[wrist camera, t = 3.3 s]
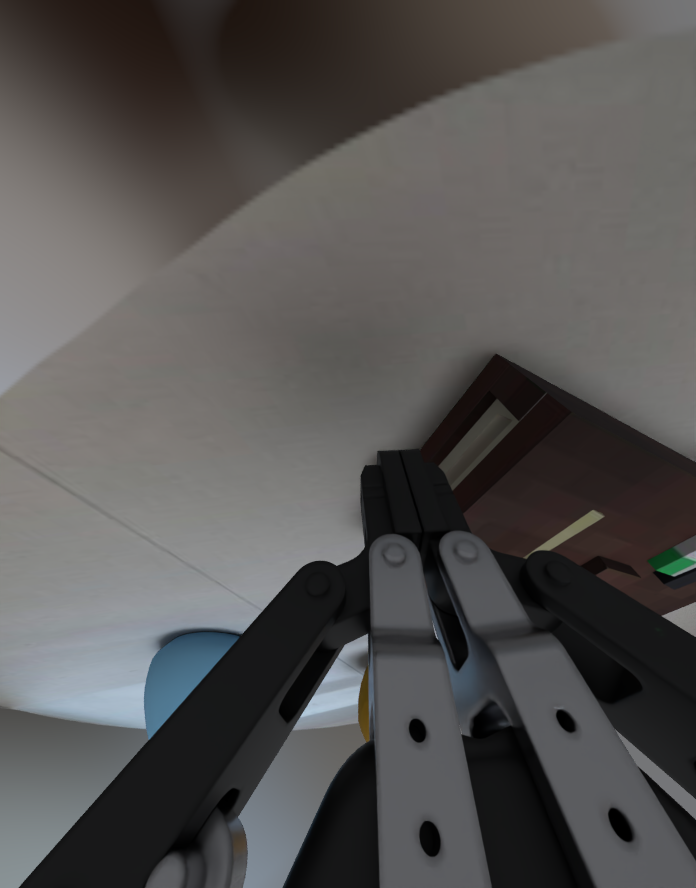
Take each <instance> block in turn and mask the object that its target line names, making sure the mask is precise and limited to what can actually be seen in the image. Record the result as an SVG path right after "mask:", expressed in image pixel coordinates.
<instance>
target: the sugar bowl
mask: <svg viewBox="0 0 696 888" xmlns="http://www.w3.org/2000/svg"><path fill="white" fill-rule="evenodd" d="M239 637H240V636H237V635H233V634H227V633H219V632H197V633H190V634H185V635H182V636H179V637H177V638H175V639H174V640H172V641H171V642H169V643H168V644H167V645H166V646H164V647H163V648H162V649H161V650H160V651H158V652H157V654H156V655H155V656H154V658H153V659H152V662H151V664H150V667H149V671H148V675H147V679H146V684H145V692H144V710H145V720H146V729H147V734H148V739H150V738H151V737H152V736H153V735H154V734H155V733H156V731H157V730H158V729H159V728H160V727H161V726H162V725H163V723H164V722H165V721H166V720H167V719H168V718H169V717H170V716H171V714H172V713H173V712H174V711H175V710H176V709H177V708H178V706H179V705H180V704H181V703H182V702H183V701H184V700H185V699H186V697H187V696H188V695H189V694H190V693H191V692H192V691H193V689H194V688H195V687H196V686H197V685H198V684H199V683H200V682H201V680H202V679H203V678H204V677H205V676H206V675H207V674H208V672H209V671H210V670H211V669H212V668H213V667H214V666H215V665H216V663H217V662H218V661H219V660H220V659H221V658H222V657H223V655H224V654H225V653H226V652H227V651H228V650H229V649H230V648H231V646H232V645H233V644H234V643H235V642H236V641H237V640H238V639H239Z"/></svg>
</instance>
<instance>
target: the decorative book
mask: <svg viewBox="0 0 696 888" xmlns="http://www.w3.org/2000/svg"><path fill="white" fill-rule="evenodd" d="M420 452H421V455H422V458H423V460H424V463H428V462H434V463H435V464H436V465H437V466H438V467H439V468H440V469H441V470H443V471H444V473H445V475H446V478H447V480H448V482H449V485H450V486H451V489H452V491H453V494H454V495H455V497H456V500H457V502H458V504H459V506H460V508H461V511H462V513H463V515H464V517H465V519H466V522H467V524H468V526H469V528H470V530H471V532H472V534H474V535H476V536H477V537H479V538H480V539H481V540H483V541H484V542H485V543H486V545H487V546H488V547H489V548H490V549H492V550H495V551H497V552H501V553H504V554H509V555H513V556H517V557H521V558H525V559H527V558H528V556H529V555H530V554H531V553H533V552H535V551H538V550H548V551H553V552H556V553H558V554H561V555H563V556H565V557H566V558H568V559H570V560H571V561H573V562H575V563H576V564H578V565H579V566H581V567H583V568H584V569H586V570H588V571H589V572H591V573H592V574H594V575H596V576H597V577H599V578H601V579H602V580H604V581H605V582H607V583H609V584H610V585H612V586H613V587H615V588H617V589H618V590H620V591H622V592H623V593H625V594H626V595H628V596H630V597H631V598H633V599H635V600H636V601H638V602H639V603H641V604H643V605H644V606H646V607H647V608H649V609H651V610H652V611H654V612H656V613H657V614H659V615H660V616H662V615H665V614H667V613H669V612H672V611H674V610H677V609H679V608H682V607H684V606H687V605H689V604H692V603H694V602H696V463H695V462H693V461H692V460H690V459H688V458H686V457H684V456H683V455H681V454H679V453H677V452H675V451H673V450H672V449H670V448H668V447H666V446H664V445H662V444H661V443H659V442H657V441H655V440H653V439H651V438H650V437H648V436H646V435H644V434H642V433H641V432H639V431H637V430H635V429H633V428H631V427H630V426H628V425H626V424H624V423H622V422H620V421H619V420H617V419H615V418H613V417H611V416H609V415H608V414H606V413H604V412H602V411H600V410H599V409H597V408H595V407H593V406H591V405H589V404H588V403H586V402H584V401H582V400H580V399H578V398H577V397H575V396H573V395H571V394H569V393H568V392H566V391H564V390H562V389H560V388H558V387H557V386H555V385H553V384H551V383H549V382H547V381H546V380H544V379H542V378H540V377H538V376H536V375H535V374H533V373H531V372H529V371H527V370H526V369H524V368H522V367H520V366H518V365H516V364H515V363H513V362H511V361H509V360H507V359H505V358H504V357H502V356H500V355H498V354H495V356H494V357H493V358H492V359H491V361H490V362H489V363H488V365H487V366H486V367H485V368H484V370H483V371H482V372H481V373H480V375H479V376H478V377H477V379H476V380H475V381H474V382H473V384H472V385H471V386H470V387H469V389H468V390H467V391H466V393H465V394H464V395H463V396H462V398H461V399H460V400H459V401H458V403H457V404H456V405H455V407H454V408H453V409H452V410H451V412H450V413H449V414H448V416H447V417H446V418H445V419H444V421H443V422H442V423H441V424H440V426H439V427H438V428H437V430H436V431H435V432H434V433H433V435H432V436H431V437H430V438H429V440H428V441H427V442H426V444H425V445H424V446H423V447H422V449H421V450H420ZM424 579H425V577H424ZM425 585H426V581H425ZM426 589H427V585H426Z"/></svg>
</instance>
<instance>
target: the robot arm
mask: <svg viewBox="0 0 696 888" xmlns="http://www.w3.org/2000/svg"><path fill="white" fill-rule="evenodd" d="M361 513H362V523H363V533H364V543H365V548H364V550H363V551H362V552H361V553H360V554H359V555H358V556H357V557H356V558H354V559H352V560H350V561H348V562H345V563H343V564H340V565H338V566H336V565H334V564H332V563H330V562H327V561H314V562H311V563H308V564H306V565H305V566H303V567H302V568H301V569H300V570H299V571H298V572H297V573H296V574H295V575H294V576H293V577H292V578H291V580H290V581H289V582H288V583H287V584H286V585H285V586H284V588H283V589H282V590H281V591H280V592H279V593H278V594H277V595H276V597H275V598H274V599H273V600H272V601H271V602H270V603H269V605H268V606H267V607H266V608H265V609H264V610H263V611H262V612H261V614H260V615H259V616H258V617H257V618H256V619H255V620H254V622H253V623H252V624H251V625H250V626H249V627H248V628H247V629H246V631H245V632H244V633H243V634H242V635H241V636H240V637H239V639H238V640H237V641H236V642H235V643H234V644H233V645H232V646H231V648H230V649H229V650H228V651H227V652H226V653H225V654H224V655H223V657H222V658H221V659H220V660H219V661H218V662H217V663H216V665H215V666H214V667H213V668H212V669H211V670H210V671H209V672H208V674H207V675H206V676H205V677H204V678H203V679H202V680H201V682H200V683H199V684H198V685H197V686H196V687H195V688H194V689H193V691H192V692H191V693H190V694H189V695H188V696H187V697H186V699H185V700H184V701H183V702H182V703H181V704H180V705H179V706H178V708H177V709H176V710H175V711H174V712H173V713H172V714H171V716H170V717H169V718H168V719H167V720H166V721H165V722H164V723H163V725H162V726H161V727H160V728H159V729H158V730H157V731H156V733H155V734H154V735H153V736H152V737H151V738H150V739H149V741H148V742H147V743H146V744H145V745H144V746H143V747H142V748H141V749H140V751H139V752H138V753H137V754H136V755H135V756H134V757H133V759H132V760H131V761H130V762H129V763H128V764H127V765H126V766H125V768H124V769H123V770H122V771H121V772H120V773H119V774H118V776H117V777H116V778H115V779H114V780H113V781H112V782H111V784H110V785H109V786H108V787H107V788H106V789H105V790H104V791H103V793H102V794H101V795H100V796H99V797H98V798H97V800H95V802H94V803H93V804H92V805H91V806H90V807H89V808H88V810H87V811H86V812H85V813H84V814H83V815H82V816H81V817H80V819H79V820H78V821H77V822H76V823H75V825H73V826H72V828H71V829H70V830H69V831H68V832H67V833H66V834H65V836H64V837H63V838H62V839H61V840H60V841H59V842H58V843H57V845H56V846H55V847H54V848H53V849H52V850H51V851H50V853H49V854H48V855H47V856H46V857H45V858H44V859H43V860H42V862H41V863H40V864H39V865H38V866H37V867H36V868H35V870H34V871H33V872H32V873H31V874H30V875H29V876H28V878H27V879H26V880H25V881H24V882H23V883H22V884H21V886H20V887H19V888H243V884H244V879H245V875H246V868H247V854H248V851H247V840H246V834H245V831H244V828H243V825H242V823H241V821H240V820H239V818H238V816H239V815H240V813H241V811H242V810H243V808H244V806H245V805H246V803H247V802H248V800H249V798H250V797H251V795H252V794H253V792H254V790H255V789H256V787H257V786H258V784H259V782H260V781H261V779H262V777H263V776H264V774H265V773H266V771H267V769H268V768H269V766H270V765H271V763H272V761H273V760H274V758H275V756H276V755H277V753H278V752H279V750H280V748H281V747H282V745H283V744H284V742H285V740H286V739H287V737H288V736H289V734H290V732H291V731H292V729H293V728H294V726H295V724H296V723H297V721H298V719H299V718H300V716H301V715H302V713H303V711H304V710H305V708H306V707H307V705H308V703H309V702H310V700H311V699H312V697H313V695H314V694H315V692H316V690H317V689H318V687H319V686H320V684H321V682H322V681H323V679H324V678H325V676H326V674H327V673H328V671H329V669H330V668H331V666H332V665H333V663H334V661H335V660H336V658H337V657H338V655H339V653H340V652H341V650H342V649H343V647H344V645H345V644H347V643H349V642H351V641H353V640H355V639H357V638H360V637H362V636H364V635H366V634H368V667H369V741H368V742H367V743H365V744H364V745H362V746H361V747H360V748H358V749H357V750H356V751H355V752H354V753H353V754H352V755H351V756H350V757H349V758H348V759H347V760H346V762H345V763H344V764H343V765H342V767H341V768H340V769H339V771H338V772H337V774H336V776H335V777H334V779H333V781H332V782H331V784H330V786H329V788H328V790H327V792H326V794H325V796H324V798H323V800H322V802H321V805H320V807H319V809H318V811H317V813H316V816H315V818H314V820H313V823H312V824H311V827H310V829H309V831H308V833H307V835H306V838H305V840H304V842H303V844H302V846H301V848H300V851H299V853H298V855H297V857H296V859H295V862H294V864H293V866H292V868H291V871H290V872H289V875H288V877H287V879H286V881H285V883H284V886H283V888H696V820H695V819H694V818H693V817H692V816H691V815H690V814H689V813H688V812H687V811H686V810H685V809H684V808H682V807H681V806H680V805H679V804H678V803H677V802H676V801H675V800H674V799H673V798H672V797H671V796H670V795H669V794H667V793H666V792H665V791H664V790H663V789H662V788H661V787H660V786H659V785H658V784H657V783H656V782H655V781H653V780H652V779H651V778H650V777H649V776H648V775H647V774H646V773H645V772H644V771H642V770H641V769H640V768H639V767H638V766H637V765H636V763H635V762H634V760H633V759H632V757H631V755H630V754H629V752H628V750H627V749H626V747H625V745H624V744H623V742H622V741H621V739H620V738H619V736H618V734H617V732H616V731H615V729H616V730H617V731H618V732H619V733H620V734H621V735H622V736H624V737H625V738H626V739H627V740H628V741H629V742H631V743H632V744H633V745H634V746H635V747H636V748H637V749H639V750H640V751H641V752H642V753H643V754H645V755H646V756H647V757H648V758H649V759H650V760H651V761H652V762H654V763H655V764H656V765H657V766H658V767H659V768H661V769H662V770H663V771H664V772H665V773H666V774H667V775H669V776H670V777H671V778H672V779H673V780H674V781H676V782H677V783H678V784H679V785H680V786H681V787H683V788H684V789H685V790H686V791H687V792H688V793H690V794H691V795H692V796H693V797H694V798H695V799H696V637H694V636H693V635H691V634H690V633H688V632H686V631H685V630H683V629H681V628H680V627H678V626H677V625H675V624H673V623H672V622H670V621H668V620H667V619H665V618H664V617H662V616H660V615H659V614H657V613H656V612H654V611H652V610H651V609H649V608H647V607H646V606H644V605H643V604H641V603H639V602H638V601H636V600H635V599H633V598H631V597H630V596H628V595H626V594H625V593H623V592H622V591H620V590H618V589H617V588H615V587H613V586H612V585H610V584H609V583H607V582H605V581H604V580H602V579H601V578H599V577H597V576H596V575H594V574H592V573H591V572H589V571H588V570H586V569H584V568H583V567H581V566H579V565H578V564H576V563H575V562H573V561H571V560H570V559H568V558H566V557H565V556H563V555H561V554H558V553H556V552H553V551H548V550H538V551H535V552H533V553H531V554H530V555H529V556H528V558H527V559H525V558H521V557H517V556H513V555H509V554H504V553H501V552H497V551H495V550H492V549H490V548H489V547H488V546H487V545H486V543H485V542H484V541H483V540H481V539H480V538H479V537H477V536H476V535H474V534H472V532H471V530H470V528H469V526H468V524H467V522H466V519H465V517H464V515H463V513H462V511H461V508H460V506H459V504H458V502H457V500H456V497H455V495H454V494H453V491H452V489H451V486H450V485H449V482H448V480H447V478H446V475H445V473H444V471H443V470H441V469H440V468H439V467H438V466H437V465H436V464H435V463H434V462H428V463H424V460H423V458H422V455H421V452H420V450H419V449H411V450H391V451H378V453H377V465H365V467H364V469H363V472H362V474H361ZM424 577H425V579H424ZM425 581H426V585H427V589H426V585H425ZM432 621H433V623H432ZM433 624H434V628H435V631H436V634H437V637H438V639H437V638H436V636H435V632H434V628H433ZM459 725H460V726H459ZM460 728H461V731H462V734H461V731H460Z"/></svg>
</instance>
